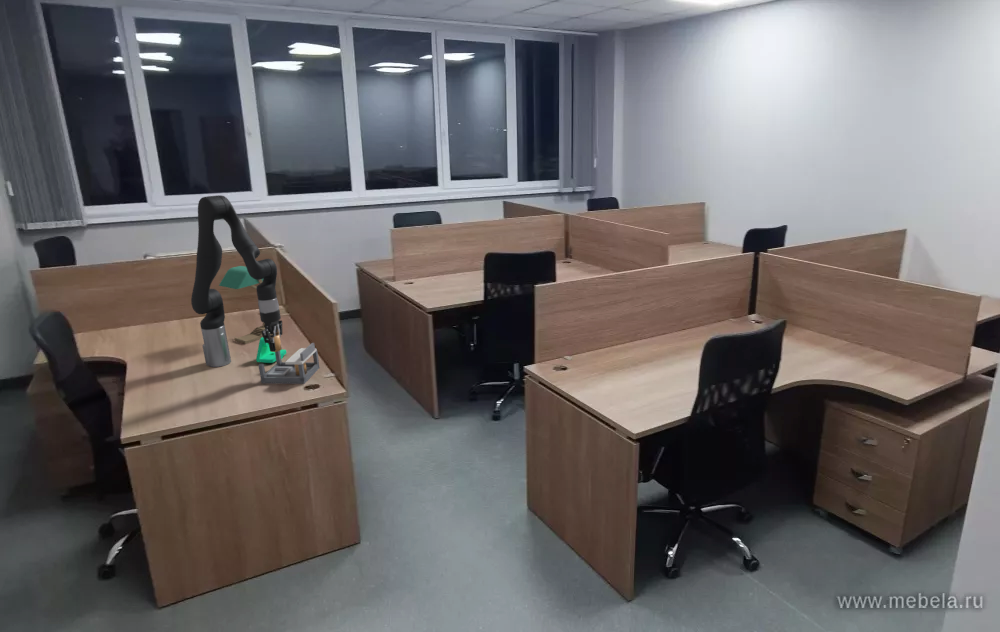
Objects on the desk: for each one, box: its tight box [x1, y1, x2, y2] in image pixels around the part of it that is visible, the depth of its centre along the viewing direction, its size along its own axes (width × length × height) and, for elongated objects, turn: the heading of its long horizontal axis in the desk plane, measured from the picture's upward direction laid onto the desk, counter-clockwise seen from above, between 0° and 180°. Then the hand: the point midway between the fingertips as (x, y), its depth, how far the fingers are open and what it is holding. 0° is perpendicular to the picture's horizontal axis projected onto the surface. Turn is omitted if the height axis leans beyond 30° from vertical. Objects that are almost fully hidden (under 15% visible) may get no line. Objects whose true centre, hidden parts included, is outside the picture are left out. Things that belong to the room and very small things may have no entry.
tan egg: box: [271, 334, 283, 352], centre depth 238 cm, size 4×4×6 cm
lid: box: [284, 342, 318, 365], centre depth 238 cm, size 7×15×4 cm, turn 175°
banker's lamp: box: [218, 265, 273, 345], centre depth 282 cm, size 16×21×35 cm
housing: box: [258, 350, 320, 385], centre depth 241 cm, size 18×16×8 cm
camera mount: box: [255, 337, 288, 364], centre depth 258 cm, size 12×8×10 cm, turn 168°
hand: (275, 348), depth 239 cm, fingers closed on tan egg, 4 cm apart
